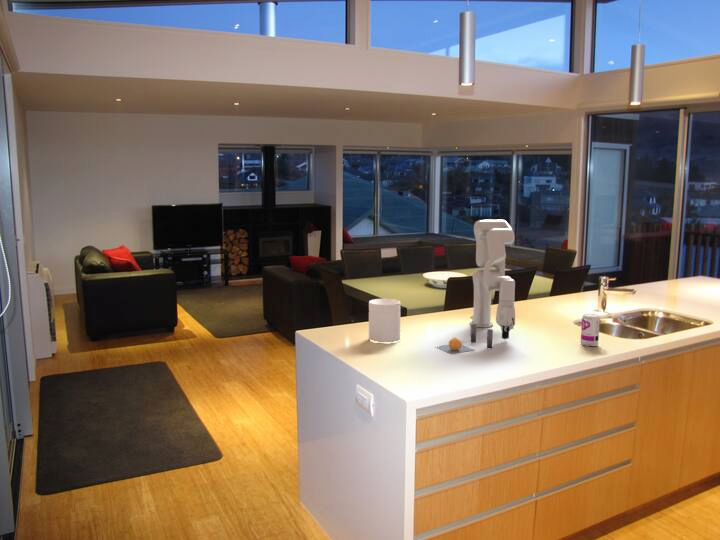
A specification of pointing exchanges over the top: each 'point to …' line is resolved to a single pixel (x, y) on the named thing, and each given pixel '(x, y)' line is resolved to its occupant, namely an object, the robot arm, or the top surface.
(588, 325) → the supplement can
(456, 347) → the ball
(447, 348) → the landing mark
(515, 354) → the top surface
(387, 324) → the canister
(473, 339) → the post
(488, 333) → the post
